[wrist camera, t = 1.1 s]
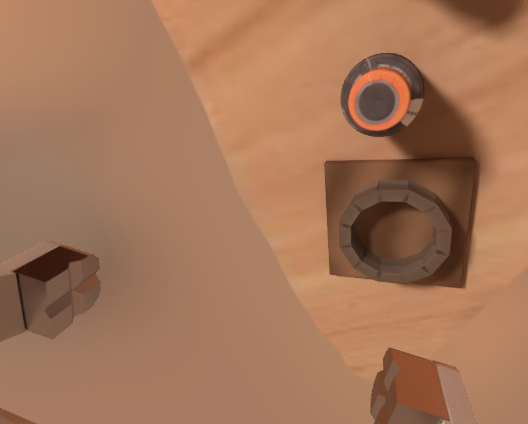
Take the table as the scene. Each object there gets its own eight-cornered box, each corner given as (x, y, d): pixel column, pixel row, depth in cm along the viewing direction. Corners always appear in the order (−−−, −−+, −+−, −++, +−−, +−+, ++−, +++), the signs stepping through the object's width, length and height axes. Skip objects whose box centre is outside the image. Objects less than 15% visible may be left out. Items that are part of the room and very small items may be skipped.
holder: (474, 157, 32) (482, 170, 29) (458, 282, 37) (464, 305, 34) (326, 161, 37) (318, 171, 34) (331, 270, 43) (325, 288, 39)
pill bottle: (434, 83, 31) (449, 97, 21) (384, 132, 34) (377, 163, 24) (386, 38, 31) (379, 31, 21) (340, 91, 34) (316, 106, 24)
